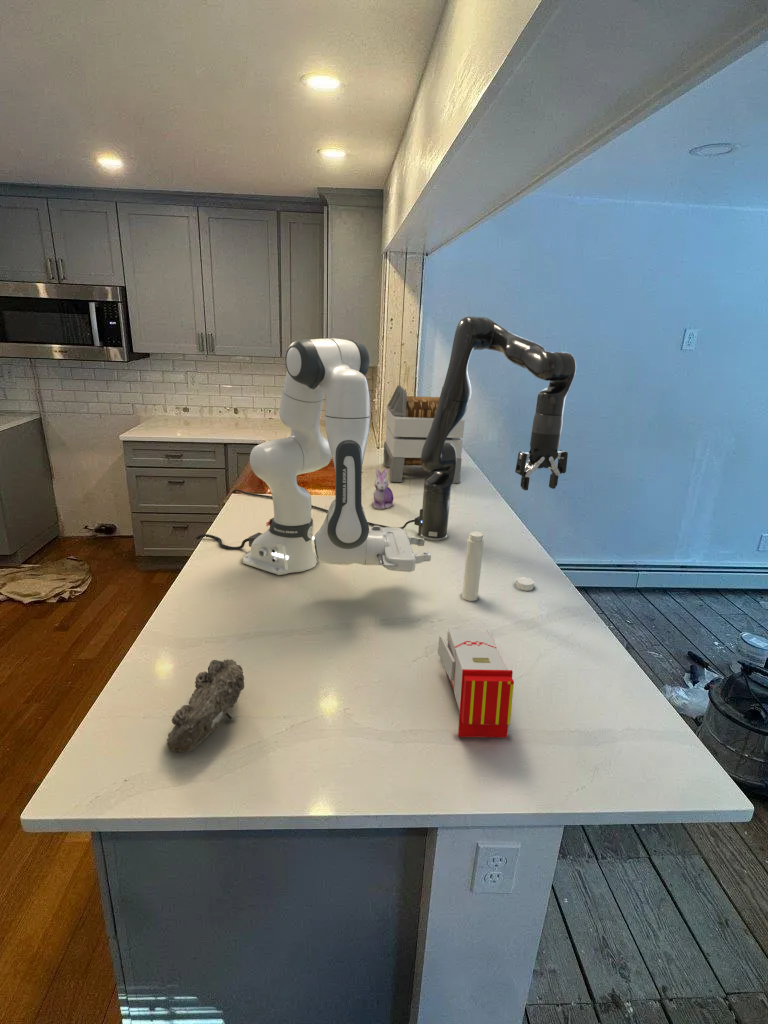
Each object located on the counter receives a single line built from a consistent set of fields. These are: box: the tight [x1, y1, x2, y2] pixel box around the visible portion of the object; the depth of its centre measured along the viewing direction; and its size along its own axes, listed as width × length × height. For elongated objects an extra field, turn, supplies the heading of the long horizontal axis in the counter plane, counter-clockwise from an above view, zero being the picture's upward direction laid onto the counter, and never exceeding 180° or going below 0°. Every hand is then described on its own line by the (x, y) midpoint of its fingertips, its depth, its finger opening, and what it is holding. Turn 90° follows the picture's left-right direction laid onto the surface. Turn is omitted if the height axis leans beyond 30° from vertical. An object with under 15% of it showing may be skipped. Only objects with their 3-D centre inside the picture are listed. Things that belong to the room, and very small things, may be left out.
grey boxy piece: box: [383, 384, 465, 484], centre depth 268 cm, size 34×33×41 cm
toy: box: [437, 628, 515, 738], centre depth 117 cm, size 12×13×30 cm
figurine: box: [372, 468, 394, 510], centre depth 225 cm, size 9×10×15 cm
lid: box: [515, 576, 535, 592], centre depth 165 cm, size 5×5×2 cm
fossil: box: [166, 658, 245, 754], centre depth 106 cm, size 22×10×15 cm
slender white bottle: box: [461, 531, 485, 602], centre depth 155 cm, size 4×4×19 cm
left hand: (427, 549), depth 152 cm, fingers open, 8 cm apart
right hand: (538, 488), depth 155 cm, fingers open, 8 cm apart
